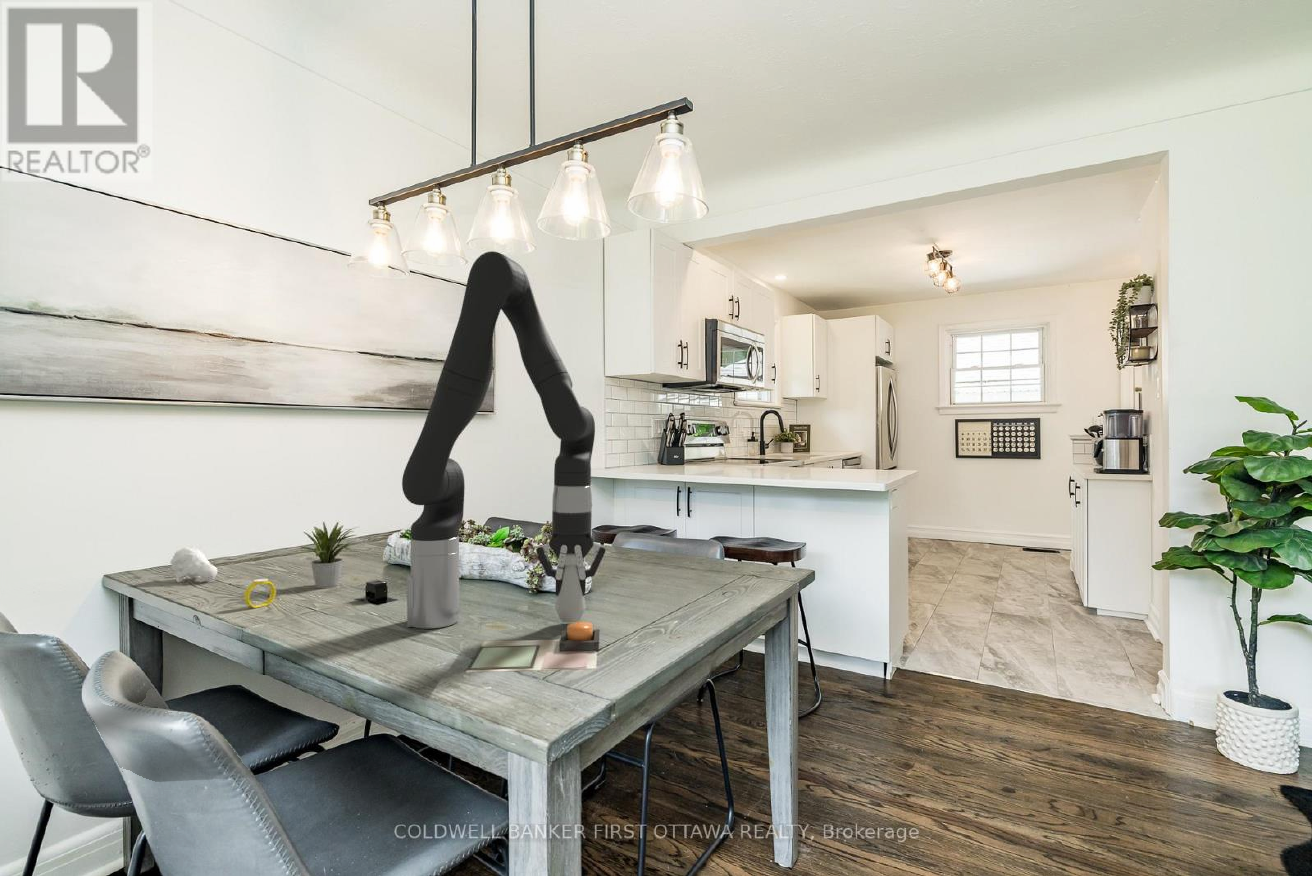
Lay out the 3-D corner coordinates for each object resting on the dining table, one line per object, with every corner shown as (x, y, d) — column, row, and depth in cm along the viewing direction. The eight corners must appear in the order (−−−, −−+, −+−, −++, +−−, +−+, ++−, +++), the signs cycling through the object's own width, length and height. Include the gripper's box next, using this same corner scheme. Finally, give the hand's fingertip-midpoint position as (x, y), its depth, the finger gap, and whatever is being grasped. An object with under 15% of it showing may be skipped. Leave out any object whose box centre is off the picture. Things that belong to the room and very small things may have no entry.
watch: (269, 603, 136) (271, 577, 136) (277, 605, 135) (278, 578, 135) (241, 608, 131) (243, 581, 131) (248, 610, 129) (250, 582, 130)
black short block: (406, 602, 138) (406, 582, 138) (376, 609, 132) (376, 589, 132) (375, 594, 145) (375, 575, 145) (345, 601, 139) (345, 581, 139)
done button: (566, 641, 102) (566, 630, 102) (568, 633, 107) (568, 622, 107) (592, 641, 103) (592, 629, 103) (593, 632, 107) (593, 621, 107)
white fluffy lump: (193, 544, 161) (227, 550, 158) (191, 575, 161) (225, 582, 158) (168, 548, 155) (203, 555, 152) (166, 581, 155) (200, 588, 152)
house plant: (353, 591, 146) (353, 524, 146) (288, 595, 142) (288, 526, 142) (364, 578, 159) (364, 516, 159) (305, 581, 155) (305, 518, 155)
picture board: (457, 683, 91) (457, 665, 91) (479, 646, 107) (479, 631, 107) (602, 678, 93) (602, 661, 93) (603, 643, 109) (603, 628, 109)
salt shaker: (579, 625, 112) (580, 555, 112) (550, 622, 113) (551, 554, 113) (589, 615, 118) (590, 549, 118) (561, 613, 119) (562, 548, 119)
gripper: (532, 511, 111) (531, 603, 111) (608, 511, 112) (607, 603, 113) (537, 506, 119) (536, 593, 119) (608, 506, 120) (607, 592, 120)
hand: (570, 597), depth 116 cm, fingers closed on salt shaker, 3 cm apart
